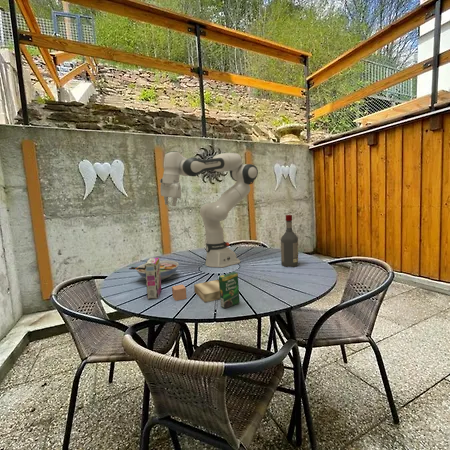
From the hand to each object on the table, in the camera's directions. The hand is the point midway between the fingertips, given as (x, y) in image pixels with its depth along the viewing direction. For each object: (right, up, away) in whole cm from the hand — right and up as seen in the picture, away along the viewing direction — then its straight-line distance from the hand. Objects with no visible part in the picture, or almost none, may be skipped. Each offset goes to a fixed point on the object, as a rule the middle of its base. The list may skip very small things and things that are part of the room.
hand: (170, 205), depth 150 cm
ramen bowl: (-5, -41, -4) cm, 42 cm away
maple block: (+25, -43, -30) cm, 58 cm away
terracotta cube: (+11, -44, -32) cm, 55 cm away
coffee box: (+33, -44, -42) cm, 70 cm away
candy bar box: (-2, -44, -26) cm, 51 cm away
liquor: (+70, -35, +8) cm, 79 cm away
